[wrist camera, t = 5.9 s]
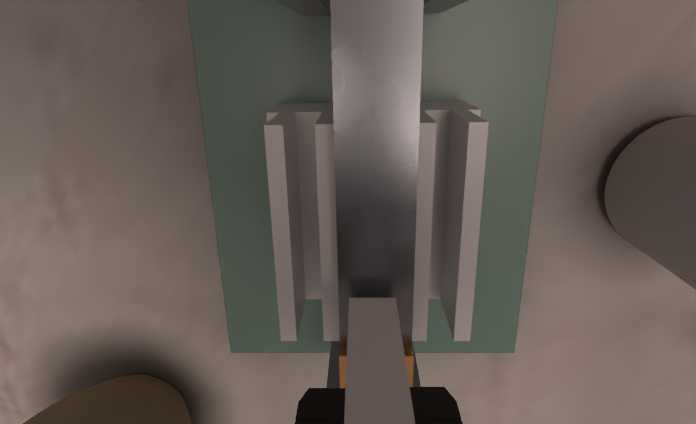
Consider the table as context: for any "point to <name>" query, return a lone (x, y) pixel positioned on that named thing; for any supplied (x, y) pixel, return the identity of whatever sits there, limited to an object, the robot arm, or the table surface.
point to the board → (319, 169)
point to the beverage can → (658, 195)
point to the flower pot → (119, 404)
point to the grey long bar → (376, 155)
